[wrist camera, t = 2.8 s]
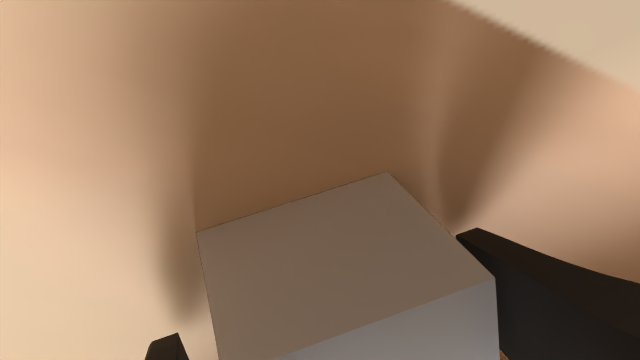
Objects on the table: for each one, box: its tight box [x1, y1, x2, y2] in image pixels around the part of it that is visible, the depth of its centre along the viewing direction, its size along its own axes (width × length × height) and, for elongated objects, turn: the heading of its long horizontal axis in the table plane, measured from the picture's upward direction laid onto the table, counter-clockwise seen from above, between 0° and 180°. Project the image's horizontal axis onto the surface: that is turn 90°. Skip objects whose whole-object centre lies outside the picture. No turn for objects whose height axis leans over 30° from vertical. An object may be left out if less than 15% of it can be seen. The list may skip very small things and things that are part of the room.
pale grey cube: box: [196, 172, 500, 360], centre depth 13 cm, size 5×5×5 cm
